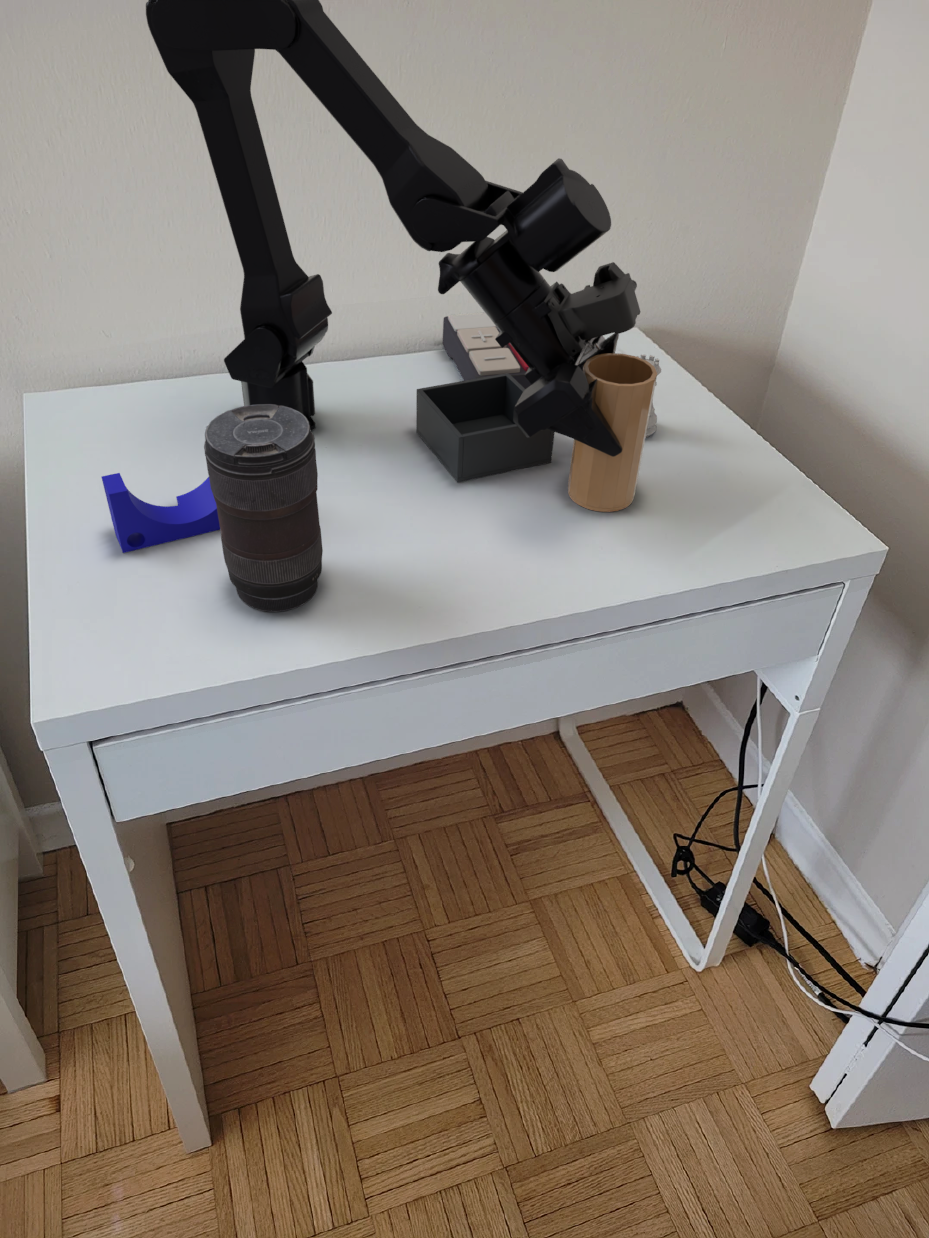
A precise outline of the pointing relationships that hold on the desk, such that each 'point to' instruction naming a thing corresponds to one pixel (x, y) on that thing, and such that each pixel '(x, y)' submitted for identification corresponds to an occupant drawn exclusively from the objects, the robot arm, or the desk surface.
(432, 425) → the bin
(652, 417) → the rook chess piece
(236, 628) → the desk surface
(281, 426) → the camera lens
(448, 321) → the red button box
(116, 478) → the blue semicircular cradle bracket
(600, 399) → the wooden cup
